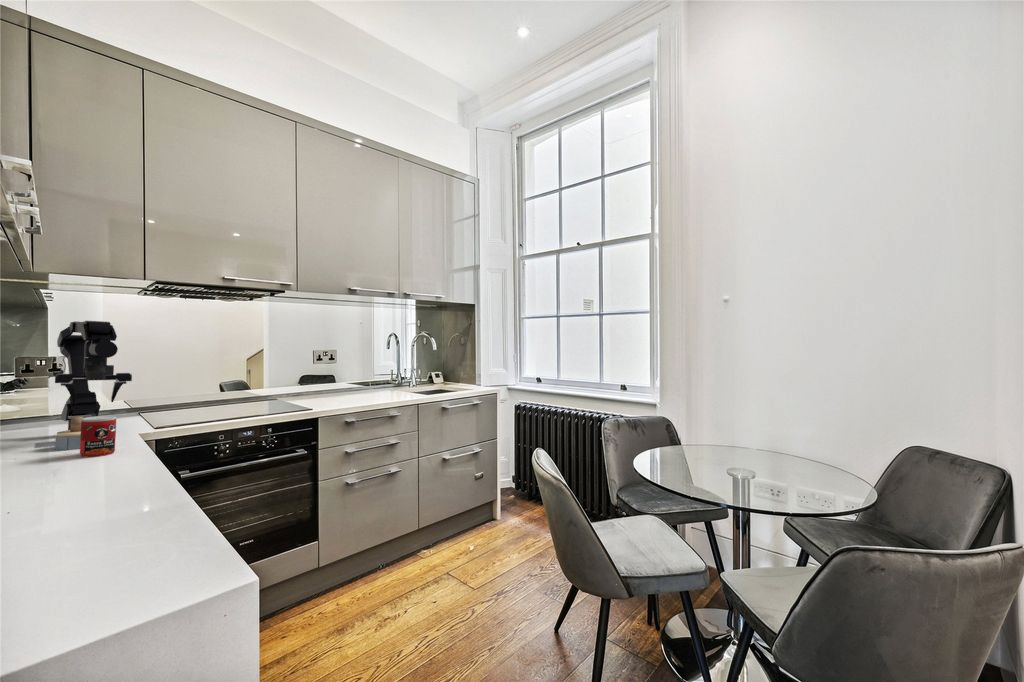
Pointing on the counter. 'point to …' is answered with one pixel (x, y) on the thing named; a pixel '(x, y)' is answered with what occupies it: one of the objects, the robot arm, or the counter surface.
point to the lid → (72, 428)
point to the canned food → (97, 436)
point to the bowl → (67, 443)
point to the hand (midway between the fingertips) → (93, 403)
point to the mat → (45, 444)
